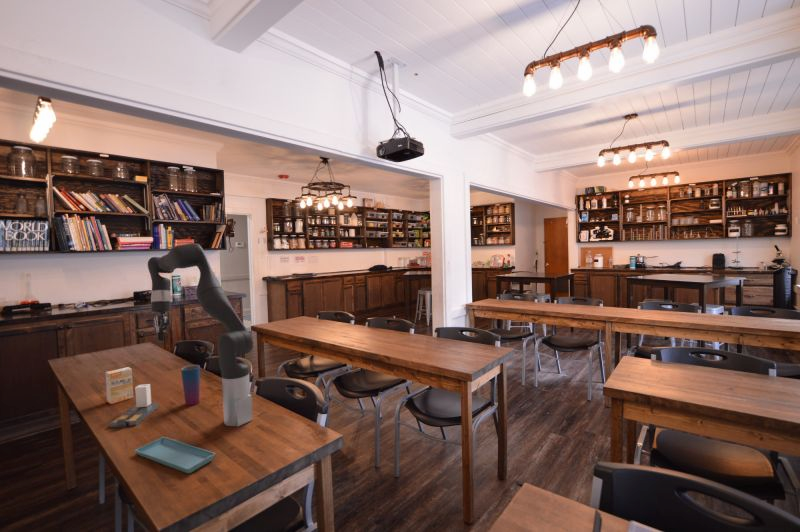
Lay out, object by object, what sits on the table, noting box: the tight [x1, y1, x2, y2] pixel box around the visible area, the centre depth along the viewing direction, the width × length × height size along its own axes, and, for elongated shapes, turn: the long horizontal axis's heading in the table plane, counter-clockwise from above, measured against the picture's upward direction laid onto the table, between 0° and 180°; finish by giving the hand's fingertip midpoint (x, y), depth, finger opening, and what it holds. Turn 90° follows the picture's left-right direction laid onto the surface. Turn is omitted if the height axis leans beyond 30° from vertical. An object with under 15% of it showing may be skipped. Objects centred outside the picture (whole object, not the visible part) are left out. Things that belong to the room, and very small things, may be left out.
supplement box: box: [105, 366, 134, 405], centre depth 161 cm, size 8×5×13 cm, turn 143°
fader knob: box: [134, 383, 152, 407], centre depth 150 cm, size 3×4×8 cm
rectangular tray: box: [134, 436, 216, 474], centre depth 116 cm, size 26×9×2 cm, turn 63°
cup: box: [180, 364, 201, 406], centre depth 156 cm, size 7×7×15 cm
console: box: [109, 399, 160, 429], centre depth 145 cm, size 18×9×3 cm, turn 7°
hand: (160, 340), depth 164 cm, fingers closed
